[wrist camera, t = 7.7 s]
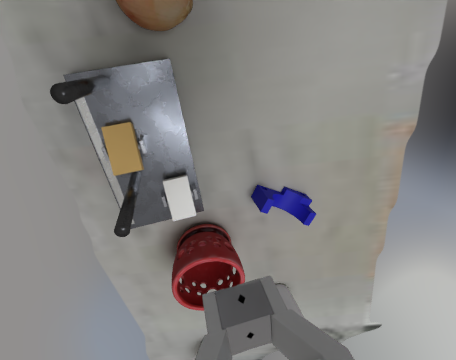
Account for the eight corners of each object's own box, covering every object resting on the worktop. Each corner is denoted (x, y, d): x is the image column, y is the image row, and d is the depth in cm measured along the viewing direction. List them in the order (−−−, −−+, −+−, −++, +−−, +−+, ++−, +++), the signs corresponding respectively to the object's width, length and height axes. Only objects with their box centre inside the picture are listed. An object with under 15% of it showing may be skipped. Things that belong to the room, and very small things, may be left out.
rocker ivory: (162, 179, 41) (161, 181, 39) (187, 173, 41) (188, 175, 39) (172, 217, 42) (171, 221, 40) (196, 211, 43) (197, 215, 41)
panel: (71, 74, 34) (-10, 83, 18) (169, 58, 36) (172, 55, 20) (130, 219, 46) (112, 301, 30) (201, 202, 48) (219, 270, 32)
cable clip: (305, 193, 54) (320, 208, 48) (295, 210, 55) (308, 225, 50) (260, 177, 49) (271, 191, 44) (250, 196, 50) (260, 211, 45)
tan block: (104, 129, 36) (99, 127, 34) (134, 124, 36) (131, 121, 34) (116, 175, 36) (112, 176, 34) (145, 169, 37) (143, 169, 35)
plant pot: (212, 206, 49) (225, 245, 39) (240, 246, 56) (257, 288, 45) (158, 238, 50) (156, 285, 39) (191, 274, 56) (197, 322, 45)
